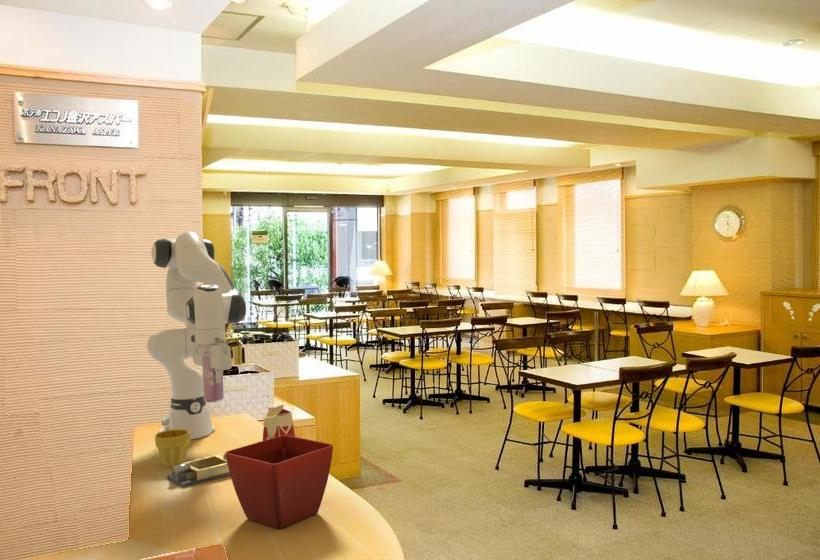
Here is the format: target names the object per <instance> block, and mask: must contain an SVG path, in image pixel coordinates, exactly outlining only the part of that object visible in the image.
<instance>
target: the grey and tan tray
mask: <svg viewBox="0 0 820 560" xmlns="http://www.w3.org/2000/svg"><path fill="white" fill-rule="evenodd" d="M171 469H172V471H171V473H169V474H167V475H166V479H168V480H169V481H171V482H173V483H174V484H175V485H178V486H180V487H181V488H186V487H190V486H195V485H199V484H202V483H206V482H210V481H213V480H218V479H221V478H225V477H228V476H230V472H229V468H228V464H227V459H226V454H225V453H224V454H223V455H219V454H213V455H210V456H206V457H205V456H204V457H202V458H201V457H200V458H197V459H193V460H189V461H185V462H184V463H181V465H176V466H173V467H171Z"/></svg>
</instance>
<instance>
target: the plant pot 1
mask: <svg viewBox="0 0 820 560" xmlns="http://www.w3.org/2000/svg"><path fill="white" fill-rule="evenodd" d="M154 441H155V444H154V445H155V447H156V448H157V449H158V453H159V456H160V460H161V464H162V466H163V467H164V468H173V466H176V465H181V463H184V462H186V458H187V454H188V453H187V452H188V448H189V444H190V443H191V439H190V431H188V430H185V429H174V430H167V431H163V432H160V433H158V432H157V433H156V434H155V436H154Z"/></svg>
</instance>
